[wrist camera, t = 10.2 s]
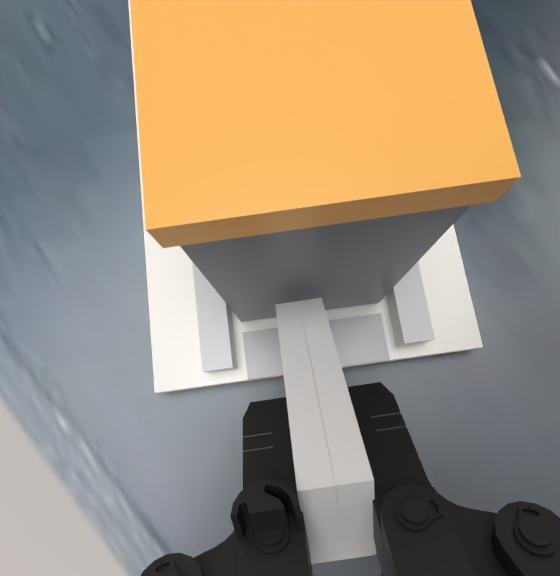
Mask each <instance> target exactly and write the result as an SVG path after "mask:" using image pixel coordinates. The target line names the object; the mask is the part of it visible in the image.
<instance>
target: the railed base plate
mask: <svg viewBox="0 0 560 576" xmlns="http://www.w3.org/2000/svg"><path fill="white" fill-rule="evenodd" d="M128 3H129V18H130V32H131V47H132V62H133V77H134V92H135V106H136V121H137V136H138V151H139V166H140V180H141V195H142V210H143V225H144V240H145V254H146V269H147V284H148V299H149V314H150V328H151V343H152V358H153V373H154V388H155V393H166V392H173V391H181V390H188V389H195V388H202V387H209V386H216V385H224V384H231V383H238V382H245V381H252V380H260V379H267V378H274V377H281V376H284V375H283V366H282V358H281V349H280V341H279V332H278V324H277V317H273V318H266V319H259V320H251V321H244V322H241V321H240V320H239V319H238V317H237V316H236V315H235V314H234V312H233V311H232V310H231V309H230V307H229V306H228V305H227V304H226V303H225V301H224V300H223V299H222V298H221V296H220V295H219V294H218V293H217V291H216V290H215V289H214V288H213V286H212V285H211V284H210V283H209V281H208V280H207V279H206V278H205V277H204V275H203V274H202V273H201V272H200V270H199V269H198V268H197V267H196V265H195V264H194V263H193V262H192V260H191V259H190V258H189V257H188V255H187V254H186V253H185V252H184V251H183V249H182V248H181V247H180V246H176V247H169V248H162V247H161V246H160V244H159V243H158V242H157V241H156V240H155V239H154V238H153V237H152V236H151V235H150V234H149V233H148V232H147V231H146V227H145V213H144V198H143V183H142V169H141V154H140V140H139V125H138V111H137V96H136V81H135V67H134V52H133V38H132V23H131V8H130V0H128ZM325 311H326V315H327V318H328V322H329V325H330V329H331V332H332V336H333V339H334V343H335V346H336V349H337V353H338V356H339V360H340V363H341V367H342V368H346V367H353V366H360V365H367V364H375V363H382V362H389V361H396V360H403V359H410V358H418V357H425V356H432V355H439V354H446V353H454V352H461V351H468V350H473V349H477V348H481V347H483V345H482V341H481V337H480V333H479V329H478V324H477V320H476V316H475V312H474V308H473V304H472V300H471V295H470V291H469V287H468V283H467V279H466V275H465V271H464V266H463V262H462V258H461V254H460V250H459V246H458V241H457V237H456V233H455V229H454V225H452V226H451V227H450V228H449V229H448V230H447V231H446V232H445V233H444V234H443V235H442V236H441V238H440V239H439V240H438V241H437V242H436V243H435V244H434V245H433V246H432V247H431V248H430V249H429V250H428V251H427V252H426V253H425V254H424V256H423V257H422V258H421V259H420V260H419V261H418V262H417V263H416V264H415V265H414V266H413V267H412V268H411V269H410V270H409V271H408V272H407V274H406V275H405V276H404V277H403V278H402V279H401V280H400V281H399V282H398V283H397V284H396V285H395V286H394V287H393V288H392V289H391V291H390V292H389V293H388V294H387V295H386V296H385V297H384V298H383V299H382V300H381V301H380V302H379V303H373V304H366V305H359V306H352V307H344V308H337V309H330V310H325Z"/></svg>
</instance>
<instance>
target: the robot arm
mask: <svg viewBox="0 0 560 576" xmlns="http://www.w3.org/2000/svg"><path fill="white" fill-rule="evenodd" d="M275 306H276V315H277V324H278V332H279V341H280V349H281V358H282V366H283V375H284V384H285V392H286V397H284V398H278V399H271V400H264V401H257V402H251V403H250V405H249V407H248V409H247V411H246V413H245V415H244V417H243V491H241V492H240V494H239V495H238V497H237V498H236V500H235V501H234V503H233V507H232V511H231V519H232V522H233V526H234V529H235V530H234V532H233V533H232V534H231V535H230V536H229V537H228V538H227V539H226V540H225V541H224V542H222V543H221V544H219V545H218V546H216V547H214V548H212V549H210V550H208V551H206V552H204V553H202V554H201V555H199V556H197V557H195V558H192V557H191V556H188V555H185V554H182V553H174V554H167V555H165V556H163V557H161V558H159V559H157V560H155V561H154V562H153V563H151V564H150V565H149V566H148V567H147V568H146V569H145V570H144V571H143V573H142V574H141V576H313V574H312V566H311V564H317V563H323V562H330V561H337V560H344V559H351V558H358V557H365V556H371V555H376V550H377V554H378V558H379V562H380V566H381V574H382V576H560V518H559V517H558V516H556V515H555V514H554V513H553V512H552V511H550V510H548V509H546V508H544V507H542V506H539V505H537V504H535V503H529V502H523V501H519V502H514V503H509V504H507V505H506V506H504V507H503V508H502V509H500V510H499V512H498V513H492V512H486V511H480V510H474V509H469V508H465V507H461V506H458V505H456V504H454V503H452V502H450V501H448V500H446V499H445V498H444V497H442V496H441V495H440V494H438V493H437V491H436V490H435V489H434V488H433V487H432V486H431V484H430V482H429V480H428V479H427V476H426V474H425V472H424V469H423V467H422V464H421V462H420V459H419V457H418V454H417V452H416V449H415V447H414V444H413V442H412V439H411V437H410V435H409V432H408V430H407V428H406V425H405V422H404V420H403V417H402V415H401V414H400V410H399V407H398V405H397V402H396V400H395V398H394V395H393V394H392V393H391V392H390V391H389V390H388V389H387V388H386V387H385V386H384V385H383V384H381V383H380V382H378V383H372V384H365V385H358V386H351V387H347V384H346V381H345V377H344V374H343V370H342V367H341V363H340V360H339V356H338V353H337V349H336V346H335V343H334V339H333V336H332V332H331V329H330V325H329V322H328V318H327V315H326V311H325V308H324V304H323V301H322V298H316V299H309V300H302V301H296V302H289V303H282V304H275Z"/></svg>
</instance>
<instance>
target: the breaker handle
mask: <svg viewBox="0 0 560 576" xmlns="http://www.w3.org/2000/svg"><path fill="white" fill-rule="evenodd" d="M130 8H131V23H132V38H133V52H134V67H135V81H136V96H137V111H138V125H139V140H140V154H141V169H142V183H143V198H144V213H145V227H146V231H147V232H148V233H149V234H150V235H151V236H152V237H153V238H154V239H155V240H156V241H157V242H158V243H159V244H160V246H161V247H162V248H169V247H176V246H180V247H181V248H182V249H183V251H184V252H185V253H186V254H187V255H188V257H189V258H190V259H191V260H192V262H193V263H194V264H195V265H196V267H197V268H198V269H199V270H200V272H201V273H202V274H203V275H204V277H205V278H206V279H207V280H208V281H209V283H210V284H211V285H212V286H213V288H214V289H215V290H216V291H217V293H218V294H219V295H220V296H221V298H222V299H223V300H224V301H225V303H226V304H227V305H228V306H229V307H230V309H231V310H232V311H233V312H234V314H235V315H236V316H237V317H238V319H239V320H240V321H241V322H244V321H251V320H259V319H266V318H273V317H277V315H276V306H275V304H282V303H289V302H296V301H302V300H309V299H316V298H322V301H323V304H324V308H325V310H330V309H337V308H344V307H352V306H359V305H366V304H373V303H379V302H380V301H381V300H382V299H383V298H384V297H385V296H386V295H387V294H388V293H389V292H390V291H391V289H392V288H393V287H394V286H395V285H396V284H397V283H398V282H399V281H400V280H401V279H402V278H403V277H404V276H405V275H406V274H407V272H408V271H409V270H410V269H411V268H412V267H413V266H414V265H415V264H416V263H417V262H418V261H419V260H420V259H421V258H422V257H423V256H424V254H425V253H426V252H427V251H428V250H429V249H430V248H431V247H432V246H433V245H434V244H435V243H436V242H437V241H438V240H439V239H440V238H441V236H442V235H443V234H444V233H445V232H446V231H447V230H448V229H449V228H450V227H451V226H452V225H453V224H454V223H455V222H456V221H457V220H458V218H459V217H460V216H461V215H462V214H463V213H464V212H465V211H466V210H467V209H468V208H469V207H470V206H471V205H474V204H482V203H489V202H495V201H496V200H497V199H498V198H499V197H500V196H501V195H502V194H504V193H505V192H506V191H507V190H508V189H509V188H510V187H511V186H512V185H513V184H514V183H515V182H516V181H517V180H518V179H519V178H520V177H521V175H520V171H519V168H518V164H517V161H516V157H515V154H514V151H513V147H512V144H511V140H510V137H509V133H508V130H507V126H506V123H505V119H504V116H503V112H502V109H501V105H500V102H499V98H498V95H497V91H496V88H495V84H494V81H493V77H492V74H491V70H490V67H489V63H488V60H487V56H486V53H485V49H484V46H483V42H482V39H481V35H480V32H479V28H478V25H477V21H476V18H475V14H474V11H473V7H472V4H471V0H130Z"/></svg>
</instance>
